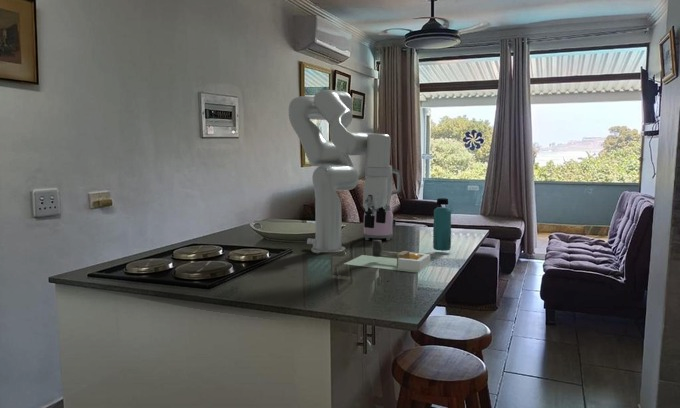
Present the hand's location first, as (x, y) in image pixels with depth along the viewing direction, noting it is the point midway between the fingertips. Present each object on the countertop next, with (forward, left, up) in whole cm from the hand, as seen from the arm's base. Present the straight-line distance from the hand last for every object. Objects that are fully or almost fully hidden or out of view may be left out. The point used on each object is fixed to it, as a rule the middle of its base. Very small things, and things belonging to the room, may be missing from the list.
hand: (375, 225), depth 163 cm
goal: (+14, 0, -12) cm, 18 cm away
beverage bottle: (+15, +28, -13) cm, 34 cm away
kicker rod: (+5, 0, -12) cm, 13 cm away
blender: (-15, +45, -13) cm, 49 cm away
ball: (+14, 0, -10) cm, 17 cm away
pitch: (+5, 0, -13) cm, 14 cm away
